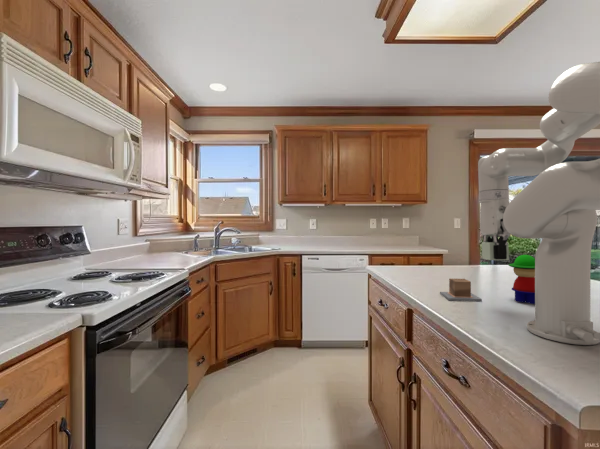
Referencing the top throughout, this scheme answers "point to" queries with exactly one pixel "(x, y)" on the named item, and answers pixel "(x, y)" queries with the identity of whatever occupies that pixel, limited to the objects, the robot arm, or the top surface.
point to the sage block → (491, 251)
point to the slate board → (458, 298)
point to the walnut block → (460, 287)
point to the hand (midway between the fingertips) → (495, 257)
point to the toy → (524, 279)
